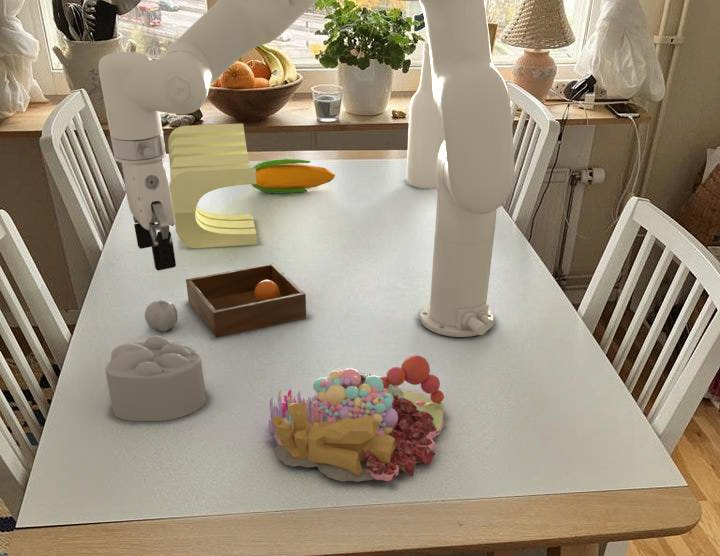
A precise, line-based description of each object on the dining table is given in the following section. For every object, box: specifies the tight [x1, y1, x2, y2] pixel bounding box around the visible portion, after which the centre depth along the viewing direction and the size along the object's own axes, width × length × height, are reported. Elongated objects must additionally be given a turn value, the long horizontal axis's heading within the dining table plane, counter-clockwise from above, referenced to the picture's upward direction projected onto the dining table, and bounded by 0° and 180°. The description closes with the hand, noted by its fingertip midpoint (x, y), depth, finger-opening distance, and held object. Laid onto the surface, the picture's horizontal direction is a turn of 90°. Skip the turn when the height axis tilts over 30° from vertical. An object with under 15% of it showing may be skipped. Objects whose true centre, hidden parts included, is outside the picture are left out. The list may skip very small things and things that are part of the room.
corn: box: [250, 158, 336, 194], centre depth 195 cm, size 7×8×20 cm
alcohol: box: [405, 42, 445, 189], centre depth 194 cm, size 9×9×30 cm
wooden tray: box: [185, 262, 307, 338], centre depth 147 cm, size 14×16×4 cm
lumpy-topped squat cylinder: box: [104, 335, 207, 422], centre depth 122 cm, size 10×13×9 cm
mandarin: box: [255, 280, 280, 302], centre depth 148 cm, size 4×4×4 cm
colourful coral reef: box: [268, 354, 445, 483], centre depth 115 cm, size 25×24×9 cm
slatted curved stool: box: [167, 123, 259, 249], centre depth 170 cm, size 30×16×18 cm, turn 11°
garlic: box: [144, 299, 179, 332], centre depth 141 cm, size 6×5×5 cm
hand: (156, 257), depth 135 cm, fingers open, 9 cm apart
